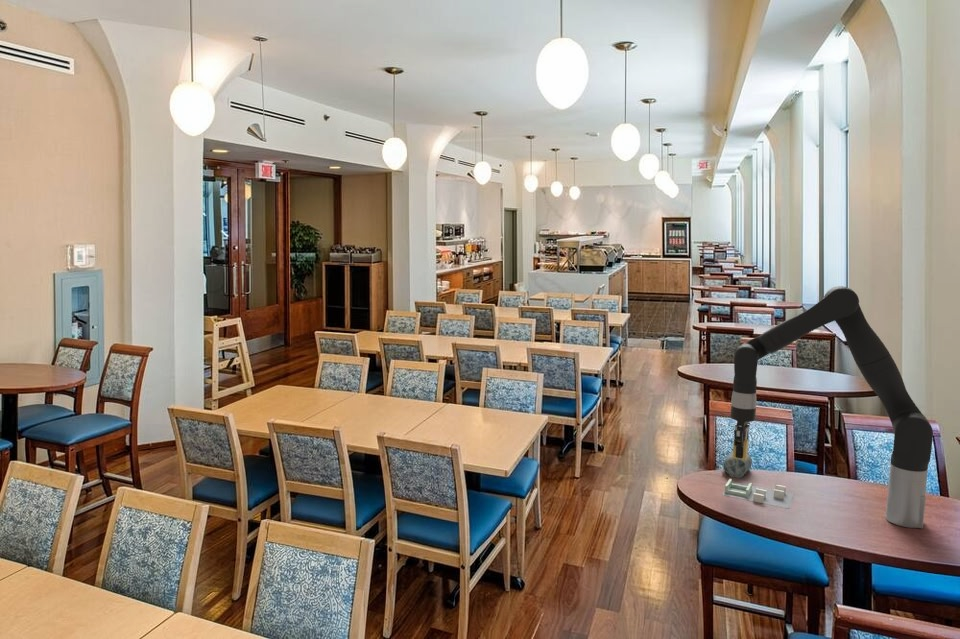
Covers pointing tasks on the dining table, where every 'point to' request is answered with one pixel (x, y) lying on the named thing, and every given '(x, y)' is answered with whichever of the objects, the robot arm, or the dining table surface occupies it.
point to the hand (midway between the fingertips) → (740, 455)
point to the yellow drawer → (745, 449)
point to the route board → (768, 500)
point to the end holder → (747, 488)
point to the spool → (736, 465)
